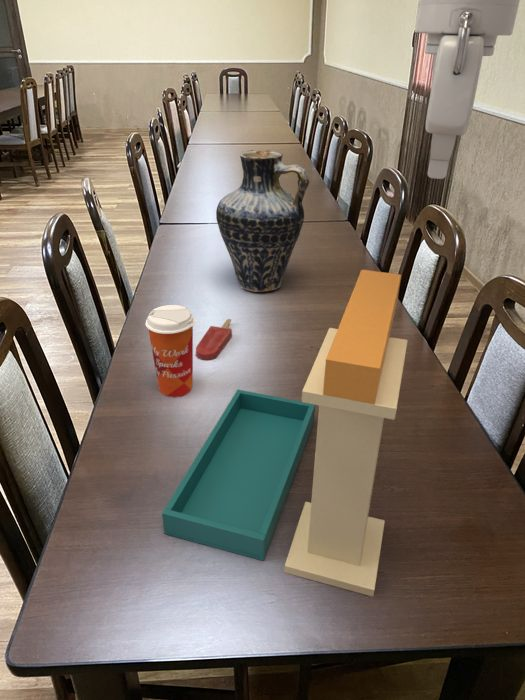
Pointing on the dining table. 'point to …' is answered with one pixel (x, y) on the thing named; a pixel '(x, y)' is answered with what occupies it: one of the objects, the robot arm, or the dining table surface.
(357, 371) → the orange rectangular bar
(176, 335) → the paper cup
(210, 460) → the tray
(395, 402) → the stand
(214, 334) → the popsicle
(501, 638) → the dining table surface
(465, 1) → the robot arm
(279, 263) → the jug
